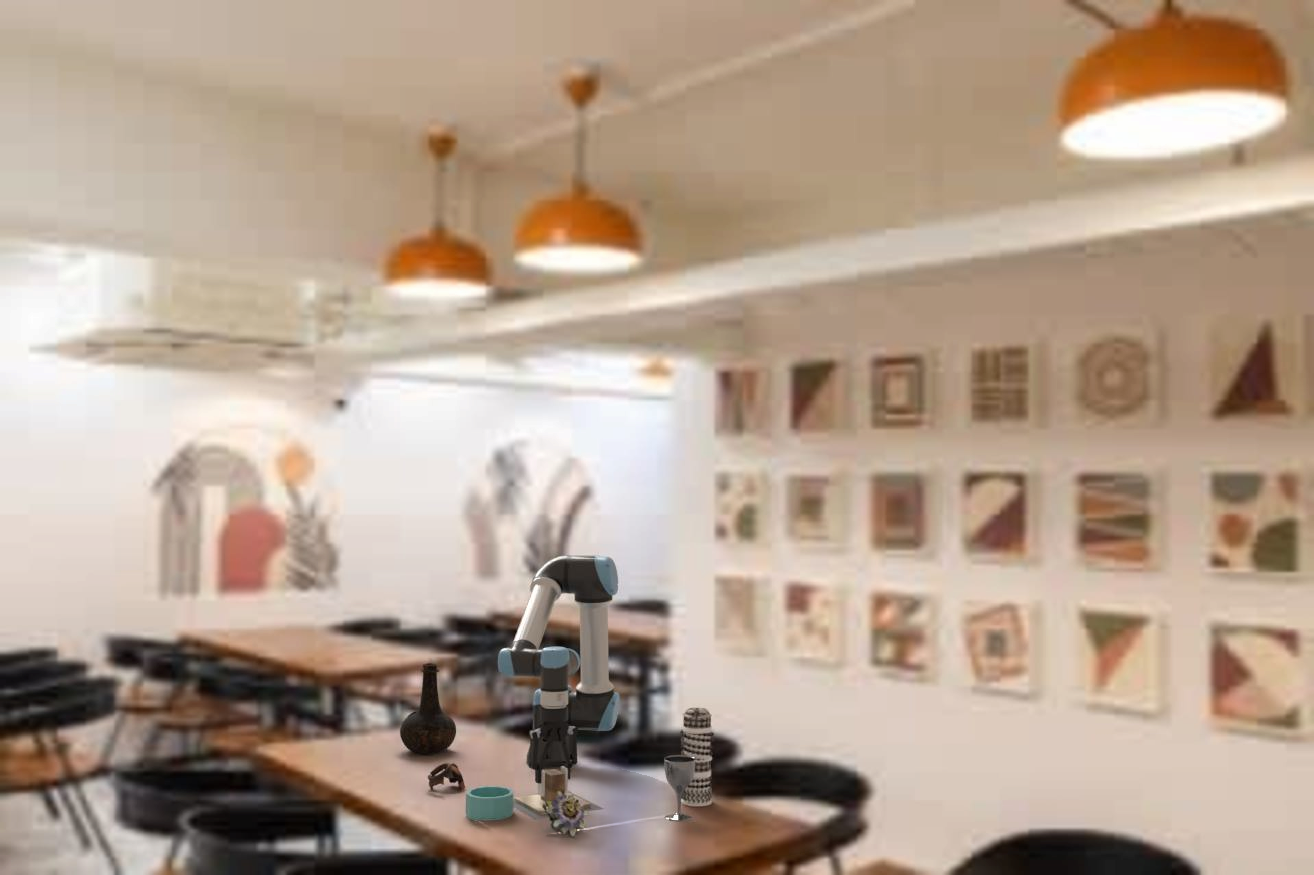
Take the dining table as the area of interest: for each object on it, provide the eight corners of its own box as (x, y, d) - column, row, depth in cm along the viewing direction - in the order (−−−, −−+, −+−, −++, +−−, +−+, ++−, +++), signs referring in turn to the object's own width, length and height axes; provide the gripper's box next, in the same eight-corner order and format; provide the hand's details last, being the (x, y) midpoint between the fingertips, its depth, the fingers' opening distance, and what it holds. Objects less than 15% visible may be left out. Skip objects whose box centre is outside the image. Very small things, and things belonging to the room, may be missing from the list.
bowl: (501, 807, 305) (502, 784, 305) (520, 818, 295) (521, 794, 295) (459, 813, 298) (459, 789, 299) (477, 824, 288) (477, 800, 289)
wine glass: (698, 815, 300) (698, 756, 300) (689, 823, 292) (689, 763, 293) (669, 811, 302) (670, 754, 303) (659, 819, 295) (660, 760, 296)
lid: (564, 794, 316) (565, 763, 317) (590, 807, 304) (591, 775, 304) (514, 801, 308) (515, 769, 309) (539, 815, 296) (539, 781, 296)
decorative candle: (689, 808, 306) (690, 713, 307) (673, 800, 314) (674, 707, 315) (719, 804, 310) (720, 711, 311) (702, 796, 318) (703, 705, 320)
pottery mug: (464, 795, 318) (449, 771, 316) (434, 809, 319) (420, 784, 318) (473, 774, 329) (459, 750, 328) (444, 787, 331) (430, 763, 329)
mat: (568, 793, 320) (568, 791, 320) (603, 810, 303) (603, 808, 303) (502, 802, 309) (502, 800, 309) (534, 821, 292) (534, 819, 292)
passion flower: (571, 858, 280) (557, 826, 274) (540, 841, 287) (526, 809, 281) (600, 825, 286) (588, 792, 280) (570, 809, 293) (557, 776, 287)
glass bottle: (429, 743, 381) (431, 658, 382) (467, 750, 370) (469, 663, 372) (387, 752, 366) (389, 664, 368) (426, 760, 356) (428, 669, 357)
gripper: (527, 711, 299) (526, 801, 298) (592, 705, 309) (590, 792, 308) (515, 706, 305) (513, 795, 304) (579, 700, 315) (577, 786, 314)
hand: (552, 793), depth 306 cm, fingers open, 6 cm apart
